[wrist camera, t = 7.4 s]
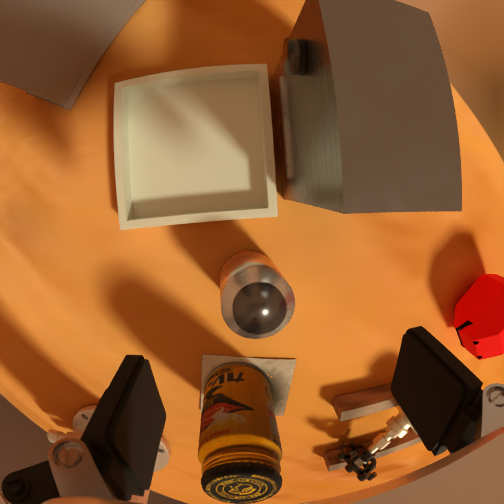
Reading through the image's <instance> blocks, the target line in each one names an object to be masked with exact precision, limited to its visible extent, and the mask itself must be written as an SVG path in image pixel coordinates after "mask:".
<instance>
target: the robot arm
mask: <svg viewBox="0 0 504 504" xmlns="http://www.w3.org/2000/svg"><path fill="white" fill-rule="evenodd" d="M482 384H483V383H482V382H481V381H480V380H479V379H478V378H477V377H476V376H475V375H474V374H473V373H472V372H471V371H470V370H469V369H468V368H467V367H466V366H465V365H464V364H463V363H462V362H461V361H460V360H459V359H458V358H457V357H455V356H454V355H453V354H452V353H451V352H450V351H449V350H448V349H447V348H446V347H445V346H444V345H443V344H441V343H440V342H439V341H438V340H437V339H436V338H435V337H434V336H433V335H431V334H430V333H429V332H428V331H427V330H426V329H425V328H424V327H422V326H419V327H414V328H410V329H408V330H407V331H406V333H405V334H404V335H403V338H402V343H401V348H400V352H399V356H398V361H397V365H396V369H395V373H394V376H393V380H392V384H391V393H392V395H393V397H394V398H395V400H396V401H397V403H398V404H399V406H400V407H401V409H402V411H403V412H404V414H405V415H406V417H407V418H408V420H409V421H410V423H411V425H412V426H413V428H414V429H415V431H416V432H417V434H418V436H419V437H420V439H421V440H422V442H423V444H424V445H425V447H426V448H427V450H429V451H432V453H433V454H434V456H437V455H439V454H441V453H443V452H445V451H446V450H447V449H448V450H449V452H450V453H449V456H447V457H445V458H443V459H441V460H439V461H436V462H434V463H432V464H430V465H428V466H426V467H423V468H421V469H419V470H416V471H414V472H412V473H409V474H407V475H404V476H402V477H399V478H396V479H394V480H391V481H388V482H385V483H382V484H379V485H376V486H373V487H370V488H366V489H363V490H360V491H356V492H352V493H349V494H345V495H341V496H336V497H332V498H327V499H323V500H318V501H312V502H307V503H300V504H504V385H503V384H498V383H496V384H490V385H488V386H487V387H485V389H484V390H482V389H481V387H482ZM165 421H166V412H165V409H164V406H163V403H162V401H161V398H160V395H159V392H158V389H157V386H156V383H155V379H154V376H153V373H152V370H151V367H150V363H149V361H148V360H147V359H144V357H143V356H142V355H126V356H125V358H124V360H123V362H122V363H121V365H120V367H119V369H118V371H117V372H116V374H115V376H114V378H113V380H112V382H111V383H110V385H109V387H108V389H106V390H105V392H104V394H103V395H102V397H101V399H100V401H99V403H98V405H92V406H86V407H83V408H81V409H80V410H79V411H77V413H76V415H75V417H74V419H73V429H74V432H67V434H66V433H63V432H60V431H57V430H53V429H50V430H49V431H48V434H47V436H48V439H49V441H50V442H52V443H54V444H53V445H52V446H51V447H50V449H49V452H48V460H47V461H45V462H42V463H39V464H37V465H34V466H31V467H28V468H25V469H22V470H19V471H16V472H12V473H10V474H8V476H6V477H5V478H4V480H3V482H2V491H1V492H0V504H147V500H148V495H149V490H150V485H151V480H152V476H153V472H154V471H158V470H160V469H163V468H164V467H165V466H166V465H167V464H168V462H169V458H170V449H169V446H168V444H167V442H166V441H165V439H164V438H163V437H162V433H163V429H164V425H165Z"/></svg>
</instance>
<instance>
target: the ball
mask: <svg viewBox="0 0 504 504" xmlns="http://www.w3.org/2000/svg"><path fill="white" fill-rule="evenodd" d="M454 327H455V329H456V331H457V334H458V337H459V339H460V342H461V346H463V347H464V348H466V349H467V350H468V351H469V352H470V353H471V354H472V355H474V356H475V357H476V358H477V359H479V360H481V359H486V358H490V357H494V356H498V355H502V354H504V278H503V277H501V276H499V275H497V274H482V275H481V276H480V277H479V278H478V279H477V280H476V281H475V282H474V283H473V285H472V286H471V287H470V288H469V289H468V291H467V292H466V293H465V294H464V295H463V296H462V298H461V299H460V300H459V301H458V302H457V303H456V305H455V318H454Z"/></svg>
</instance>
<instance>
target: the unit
mask: <svg viewBox="0 0 504 504" xmlns="http://www.w3.org/2000/svg"><path fill="white" fill-rule="evenodd" d="M274 77H275V88H276V99H277V111H278V124H279V137H280V151H281V166H282V183H283V199H287V200H291V201H295V202H300V203H304V204H308V205H312V206H316V207H320V208H324V209H328V210H332V211H335V212H339V213H343V214H349V213H378V212H423V211H462V179H461V159H460V147H459V137H458V128H457V121H456V114H455V108H454V102H453V96H452V91H451V86H450V82H449V78H448V73H447V69H446V65H445V61H444V58H443V54H442V51H441V47H440V44H439V41H438V38H437V35H436V32H435V28H434V26H433V23H432V20H431V17H430V15H429V13H428V12H425V11H423V10H420V9H418V8H415V7H412V6H409V5H407V4H404V3H401V2H398V1H395V0H306V1H305V3H304V5H303V7H302V10H301V12H300V14H299V16H298V19H297V21H296V23H295V26H294V28H293V30H292V33H291V35H290V38H286V39H285V41H284V45H283V54H282V57H281V59H280V62H279V64H278V67H277V69H276V72H275V74H274Z"/></svg>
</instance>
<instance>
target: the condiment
mask: <svg viewBox="0 0 504 504" xmlns="http://www.w3.org/2000/svg"><path fill="white" fill-rule="evenodd" d="M295 365H296V360H294V359H291V360H285V359H261V358H248V357H233V356H218V355H207V354H205V355H202V375H201V411H202V413H201V414H202V415H201V427H200V438H199V448H198V458H199V461H200V463H201V465H202V478H201V485H202V488H203V490H204V492H206V493H207V494H208V495H209V496H210V497H212V498H214V499H217V500H219V501H222V502H228V503H235V504H248V503H255V502H259V501H263V500H265V499H268V498H270V497H272V496H273V495H275V494H276V493H277V492H278V491H279V490H280V488H281V486H282V477H281V475H280V471H281V468H280V460H281V459H282V449H281V443H280V437H279V432H278V428H277V423H276V418H275V416H276V415H284V411H285V406H286V402H287V398H288V393H289V389H290V384H291V381H292V377H293V372H294V369H295ZM267 374H269V376H268V375H267ZM270 376H272V377H273V378H271V377H270Z"/></svg>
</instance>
